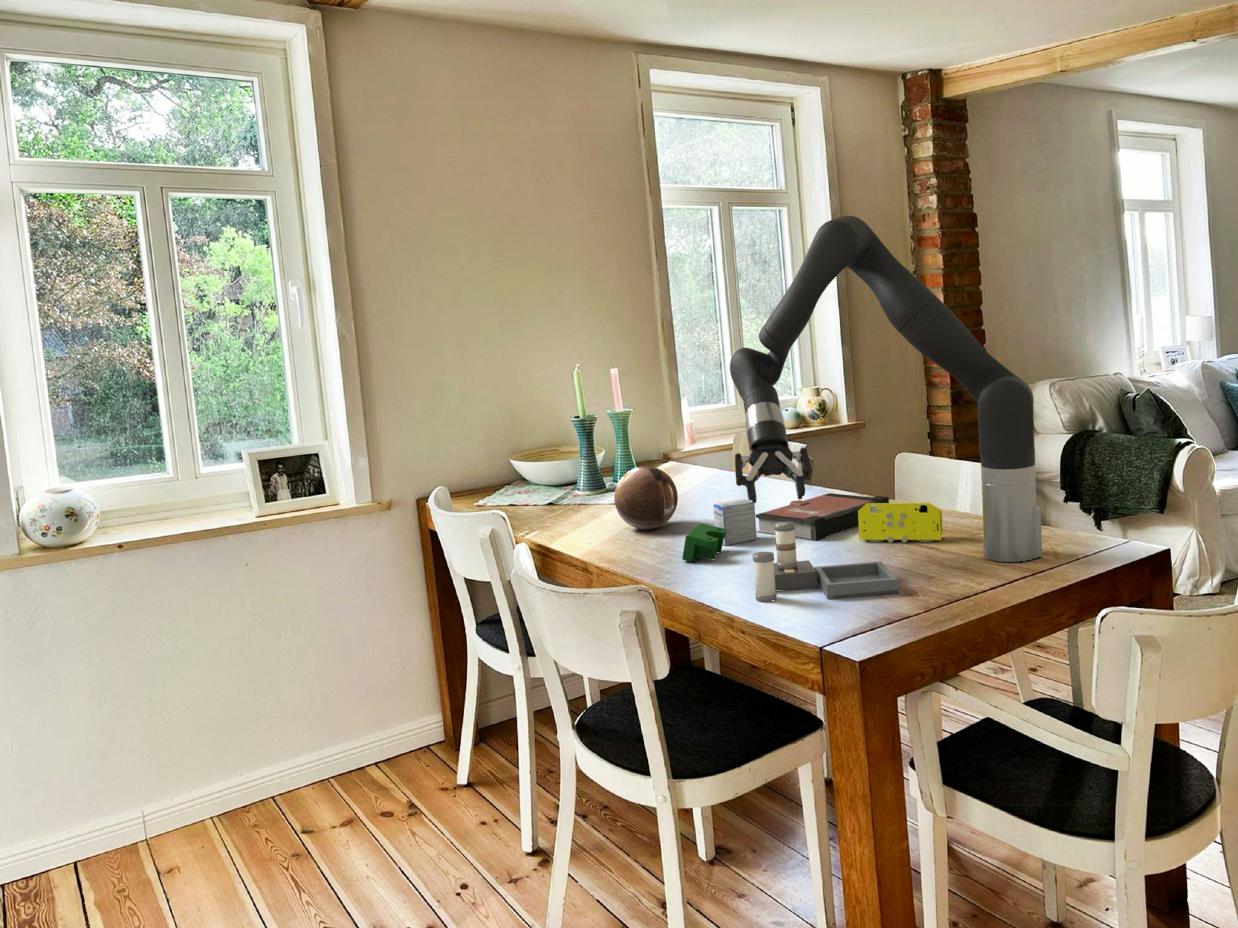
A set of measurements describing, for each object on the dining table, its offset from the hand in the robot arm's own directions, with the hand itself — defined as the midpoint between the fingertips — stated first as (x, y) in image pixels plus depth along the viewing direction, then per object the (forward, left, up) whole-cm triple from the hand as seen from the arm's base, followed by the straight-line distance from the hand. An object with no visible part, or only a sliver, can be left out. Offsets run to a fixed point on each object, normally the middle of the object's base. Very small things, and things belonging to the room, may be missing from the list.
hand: (777, 498), depth 183 cm
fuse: (+5, +16, -14) cm, 22 cm away
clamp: (+13, -18, -15) cm, 26 cm away
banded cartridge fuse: (0, +8, -11) cm, 13 cm away
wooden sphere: (+25, -48, -14) cm, 56 cm away
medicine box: (+6, -28, -15) cm, 33 cm away
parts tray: (-11, +13, -14) cm, 22 cm away
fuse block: (0, +8, -14) cm, 16 cm away
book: (-14, -38, -15) cm, 43 cm away
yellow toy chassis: (-27, -18, -15) cm, 35 cm away
